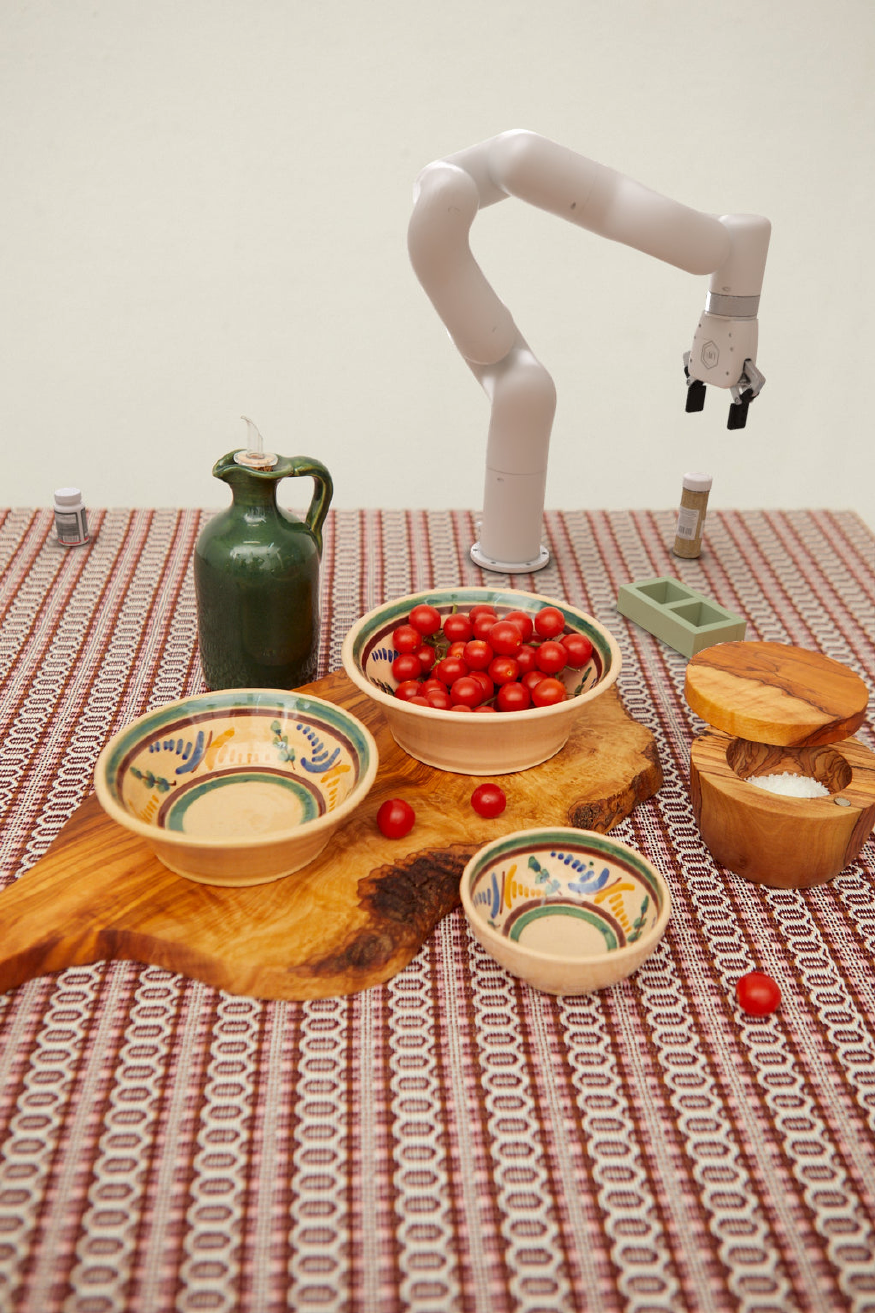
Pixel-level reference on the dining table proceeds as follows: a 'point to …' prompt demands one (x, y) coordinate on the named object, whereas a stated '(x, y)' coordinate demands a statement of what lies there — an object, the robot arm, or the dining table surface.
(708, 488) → the sprinkles bottle
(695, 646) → the socket block
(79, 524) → the pill bottle
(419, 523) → the dining table surface
